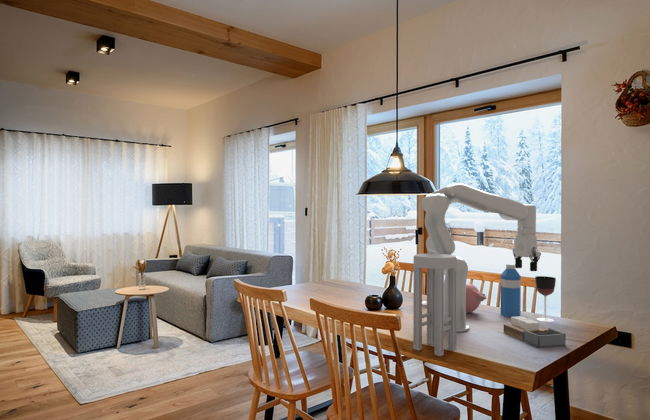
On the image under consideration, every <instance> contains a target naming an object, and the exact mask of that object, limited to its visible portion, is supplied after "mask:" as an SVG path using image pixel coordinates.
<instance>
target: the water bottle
mask: <svg viewBox="0 0 650 420" xmlns="http://www.w3.org/2000/svg"><path fill="white" fill-rule="evenodd" d="M521 279H522V276H521V274H520V272H518V271H517V268H515V263H514V264H513V263H507V264H506V265H505V269H504V270H503V272H502V273H501V274H500V315H502V316H503V317H508V318H509V317H510V318H511V317H517V316H522V315H521V314H522V313H521V312H522V311H521V303H522V302H521V301H522V300H521V299H522V298H521V297H522V296H521V295H522V294H521V293H522V291H521V289H522V288H521V286H522V285H521V284H522V283H521Z"/></svg>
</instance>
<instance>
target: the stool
mask: <svg viewBox="0 0 650 420" xmlns="http://www.w3.org/2000/svg"><path fill="white" fill-rule="evenodd" d="M456 256H457V255H453V254H451V255H448V254H429V253H417V254H415V255H413V296H412V297H413V299H412V301H413V304H412V305H413V307H412V308H413V310H412V311H413V313H412V314H413V325H412V326H413V328H412V329H413V334H412V335H413V340H412V343H413V345H412V347H413V348H412V350H416V351H421V350H422V349H423V327H425V326H426V344H427V345H430V346H433V345H434V355H435V356H438V357H443V356H444V350H445V349H444V348H445V347H444V346H445V345H444V336H445V333H444V332H446V331H447V330H448V331H447V350H448V351H455V350H457V332H456V278H457V257H458V256H457V257H456ZM423 269H426V301H427V306H426V312H424V313H423V305H422V301H423ZM444 269H448V317H446V318H444V280H445V275H444ZM425 318H426V320H425V321H423V319H425ZM447 321H448V325H447V326H444V322H447Z"/></svg>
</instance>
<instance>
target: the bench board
mask: <svg viewBox="0 0 650 420" xmlns="http://www.w3.org/2000/svg"><path fill="white" fill-rule="evenodd" d="M524 330H525V329H523V328H520V327H518V326H515V325H513V324H511V323H504V324H503V333H504V334H506V335H509V336H511V337H513V338H515V339H518V340H520V341H522V342H524V341H523V334H524ZM526 331H528V330H526ZM529 332H531V333H546V332H548V329H547V328H544V327H541V326H539V330H533V331H529Z"/></svg>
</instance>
